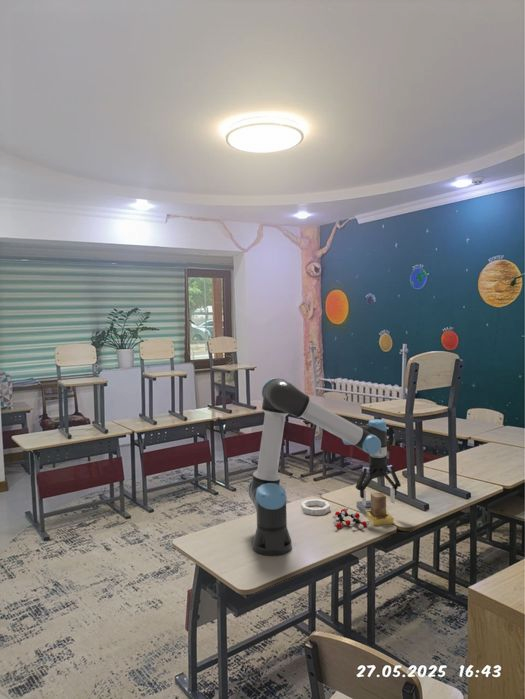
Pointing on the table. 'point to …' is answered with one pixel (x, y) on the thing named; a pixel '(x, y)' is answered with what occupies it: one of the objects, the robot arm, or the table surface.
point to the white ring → (317, 510)
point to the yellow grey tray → (374, 520)
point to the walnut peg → (378, 504)
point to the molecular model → (348, 522)
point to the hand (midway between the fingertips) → (378, 503)
